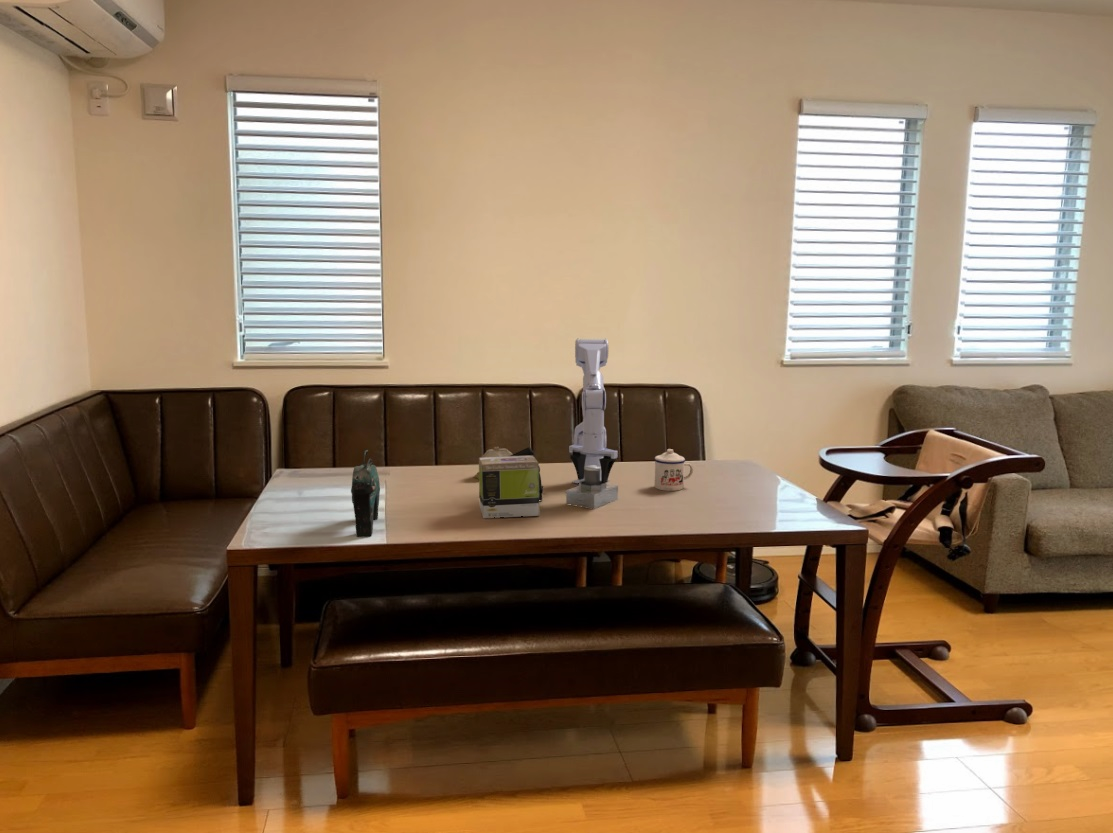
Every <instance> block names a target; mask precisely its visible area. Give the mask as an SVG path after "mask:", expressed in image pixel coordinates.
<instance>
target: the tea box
mask: <svg viewBox="0 0 1113 833" xmlns="http://www.w3.org/2000/svg"><path fill="white" fill-rule="evenodd" d="M480 457H481V458H480ZM480 457H478V472H479V479H478V480H479V481H478V482H479V483H478V486H479V488H478V489H479V490H478V492H479V493H478V495H479V510H480V512H481V515H482V518H483V519H500V517H504V518H518V517H519V518H520V517H521V516H523V517H540V501H539V467H540V465H539V461H538V460H537V459H535V458H536V457H535V458H534V457H533V455H527V456H503V457H482V456H480ZM494 517H495V518H494Z"/></svg>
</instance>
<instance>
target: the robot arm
mask: <svg viewBox="0 0 1113 833" xmlns="http://www.w3.org/2000/svg"><path fill="white" fill-rule="evenodd" d="M574 344H575V345H574V349H575V350H574V352H575V353H574V358H575V360H574V361H575V364H576V366H578V367H580V368H581V369H582V373H583V376H582V389H583V391H582V393H581V408H582V422H580V423H579V424H578V425H576V426H575V428H574V435H573V444H572V445H569V446H568V449H569V450H568V453H570V456H569V458H570V460H571V462H572V464H573V466H574V469H575V472H576V475H577V479H574V480H572V482H573V483H572V482H571V483H572V484H578V483H579V482H580V481H583V480H584V473H585V469H584V466H588V465H596V466H600V467H601V470H600V481H601V482H602V483H606V484H608V481H610V478H609V476H610V473H611V470H612V468H613V465H614V464H615V463H616V460H617V458H618V456H619V455H618V454H619V453H618V450H614V449H610V448H607V441H608V440H607V429H606V427H605V410H606V408H607V406H606V405H607V392H606V389H605V387H604V376H603V374H602V373H601V372H600V369H601V368H602V367H605V366H607V363H608V359H609V340H608V339H607V338H604V339H603V338H600V339H599V338H597V339H596V338H593V339H591V338H586V339H585V338H584V339H583V338H582V339H581V338H577V339H576V340H575V341H574Z"/></svg>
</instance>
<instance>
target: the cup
mask: <svg viewBox="0 0 1113 833" xmlns="http://www.w3.org/2000/svg"><path fill="white" fill-rule="evenodd" d="M584 469H585V473H584V484H586V485H600V470H601V467H600V466H596V465H588V466H584Z"/></svg>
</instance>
